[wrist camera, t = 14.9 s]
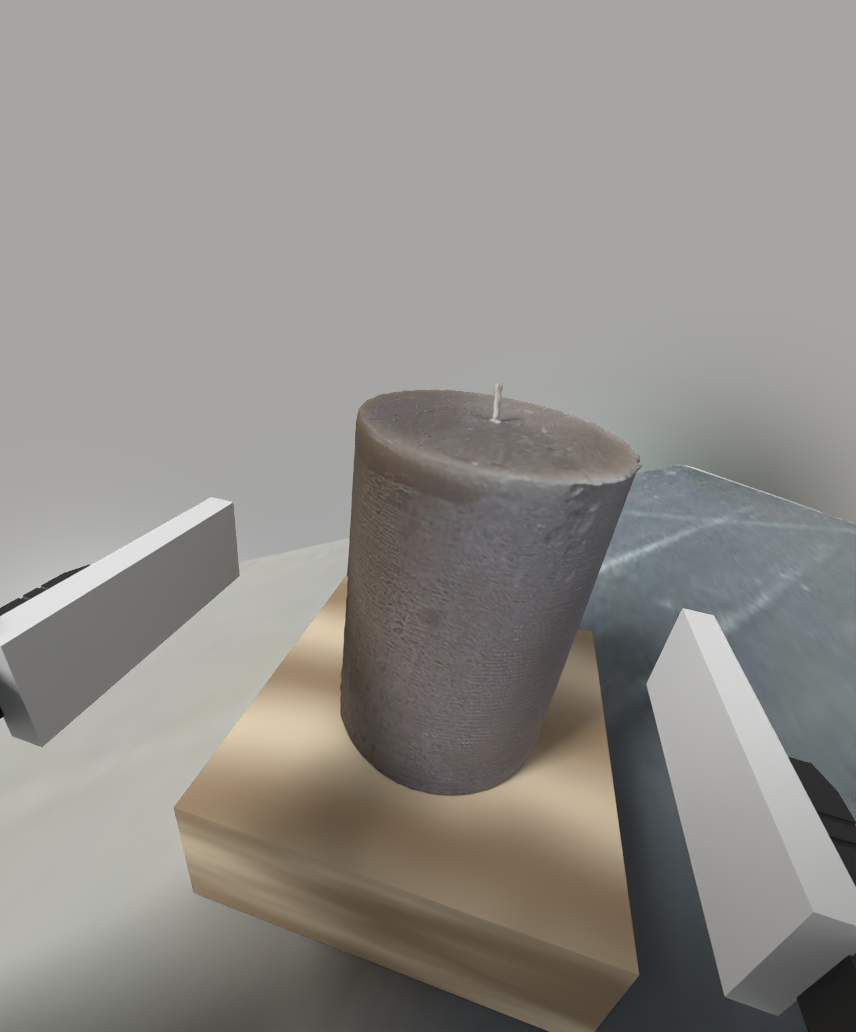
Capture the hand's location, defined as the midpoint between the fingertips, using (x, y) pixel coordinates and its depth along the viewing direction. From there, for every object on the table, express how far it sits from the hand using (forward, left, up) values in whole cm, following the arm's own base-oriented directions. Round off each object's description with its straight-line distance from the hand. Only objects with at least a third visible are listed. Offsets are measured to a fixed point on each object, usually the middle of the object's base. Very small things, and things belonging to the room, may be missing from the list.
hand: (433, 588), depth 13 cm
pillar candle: (-4, -3, -10) cm, 11 cm away
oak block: (-4, -3, -16) cm, 16 cm away
